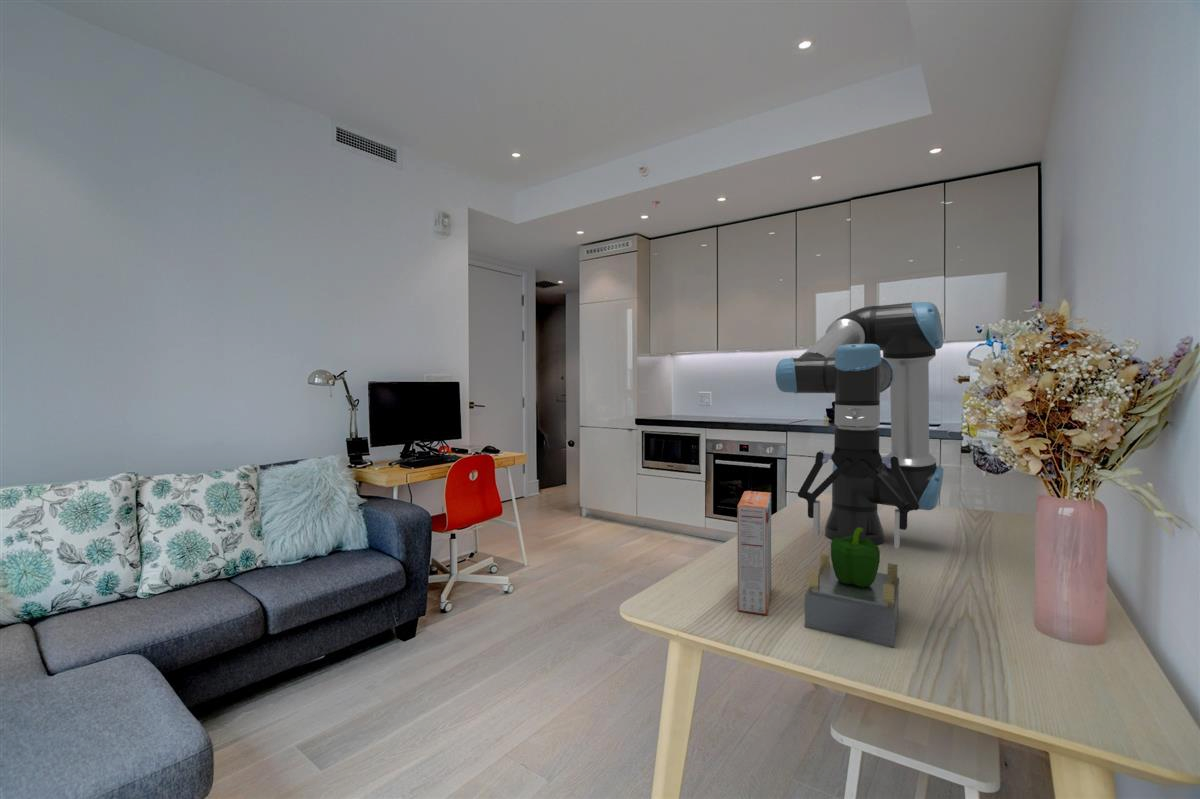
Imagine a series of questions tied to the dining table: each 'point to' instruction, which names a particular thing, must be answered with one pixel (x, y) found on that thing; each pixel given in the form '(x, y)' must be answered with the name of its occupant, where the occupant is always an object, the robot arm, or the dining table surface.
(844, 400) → the robot arm
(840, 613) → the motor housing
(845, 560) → the bell pepper
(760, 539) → the cracker box
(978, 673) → the dining table surface
